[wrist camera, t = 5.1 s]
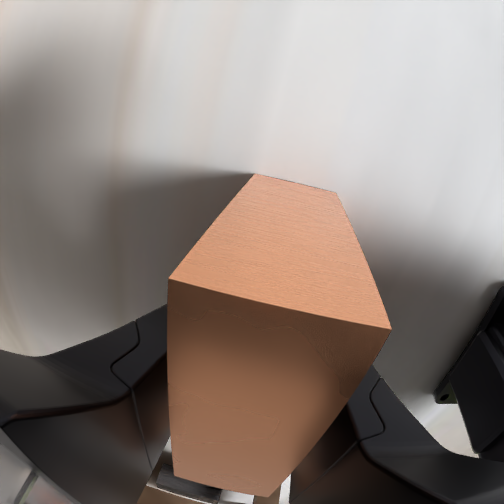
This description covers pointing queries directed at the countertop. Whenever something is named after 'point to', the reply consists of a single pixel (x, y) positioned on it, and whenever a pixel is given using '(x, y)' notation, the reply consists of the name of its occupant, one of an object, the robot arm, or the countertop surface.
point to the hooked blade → (265, 338)
